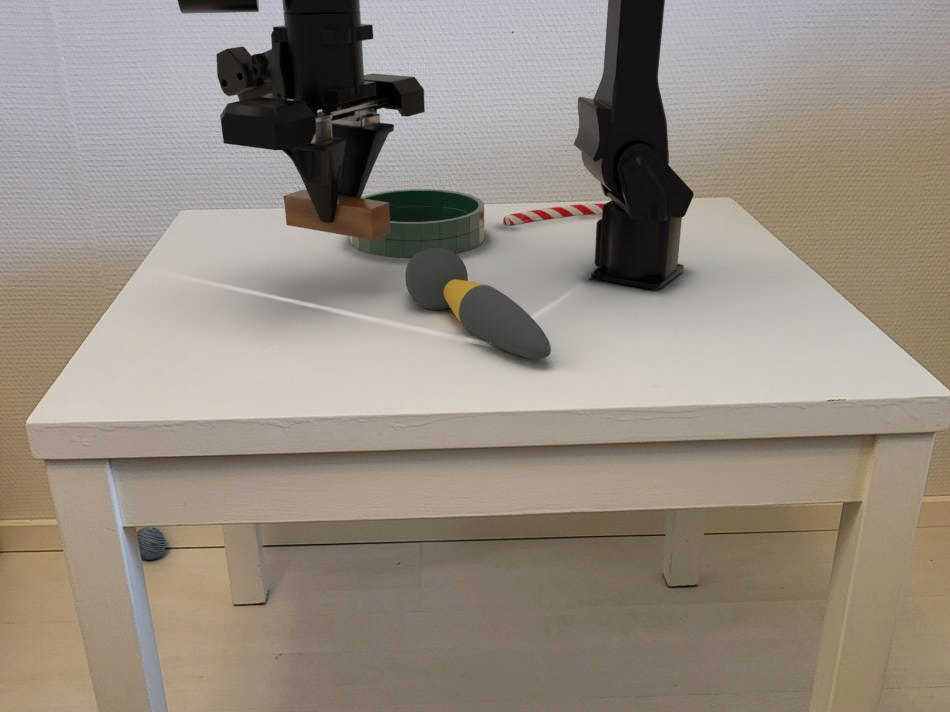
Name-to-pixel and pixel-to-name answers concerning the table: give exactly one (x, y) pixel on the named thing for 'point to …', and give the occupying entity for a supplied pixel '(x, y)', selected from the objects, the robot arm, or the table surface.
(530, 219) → the candy cane
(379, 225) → the block
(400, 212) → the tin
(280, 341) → the table surface
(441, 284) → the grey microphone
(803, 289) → the table surface
